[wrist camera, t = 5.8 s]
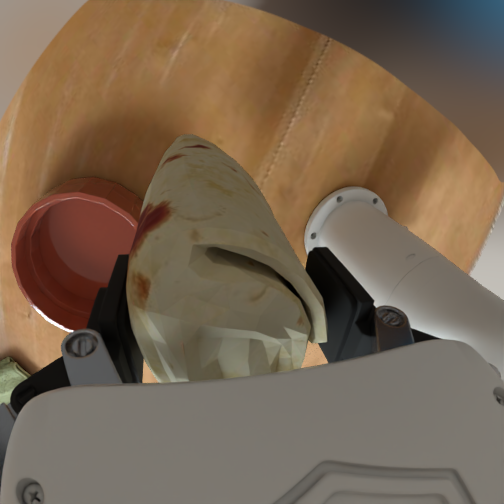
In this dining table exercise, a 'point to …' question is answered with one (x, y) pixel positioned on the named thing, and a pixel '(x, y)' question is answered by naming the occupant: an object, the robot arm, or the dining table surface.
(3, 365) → the washcloth
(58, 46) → the dining table surface
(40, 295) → the bowl
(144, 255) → the food model
